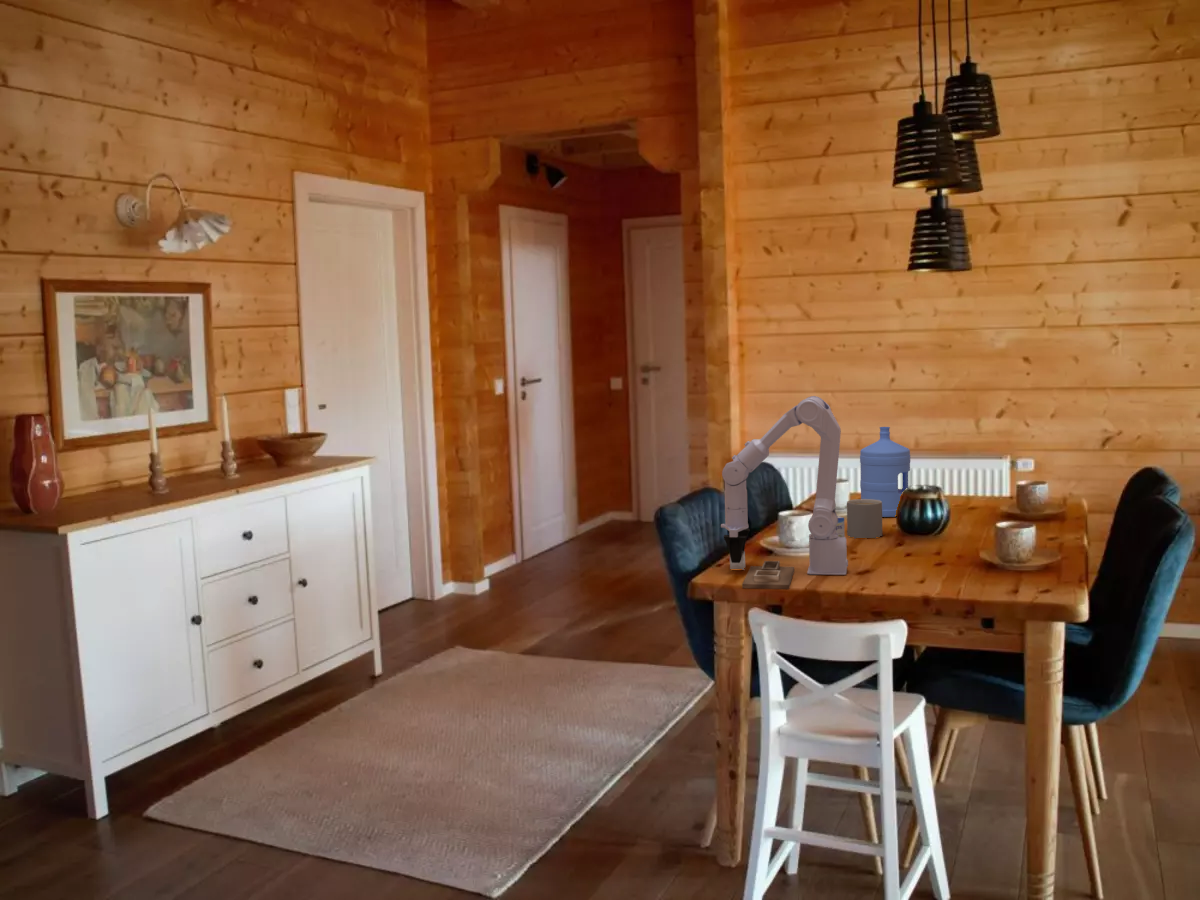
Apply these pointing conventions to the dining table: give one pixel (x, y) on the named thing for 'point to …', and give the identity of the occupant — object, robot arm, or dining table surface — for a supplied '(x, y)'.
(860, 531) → the coffee mug
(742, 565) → the square peg
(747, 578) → the socket board
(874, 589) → the dining table surface
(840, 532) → the medicine box
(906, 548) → the dining table surface
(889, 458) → the water jug
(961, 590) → the dining table surface
